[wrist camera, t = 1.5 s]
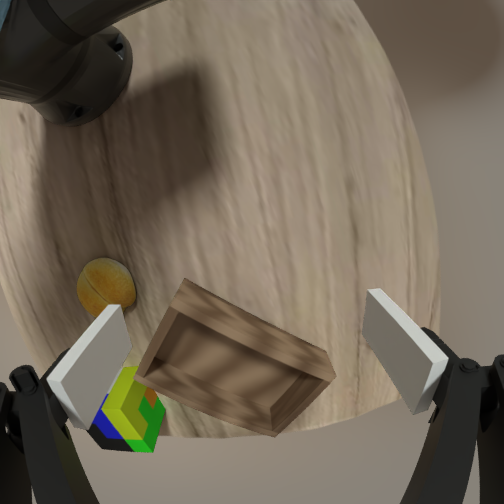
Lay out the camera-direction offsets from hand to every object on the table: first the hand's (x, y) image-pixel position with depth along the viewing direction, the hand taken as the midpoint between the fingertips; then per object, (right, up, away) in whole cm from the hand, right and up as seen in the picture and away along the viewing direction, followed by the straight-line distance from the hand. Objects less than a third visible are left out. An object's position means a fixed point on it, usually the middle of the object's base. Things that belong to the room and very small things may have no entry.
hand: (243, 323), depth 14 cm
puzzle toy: (-20, -20, +27) cm, 39 cm away
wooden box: (-2, -11, +24) cm, 27 cm away
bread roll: (-19, -1, +22) cm, 29 cm away
